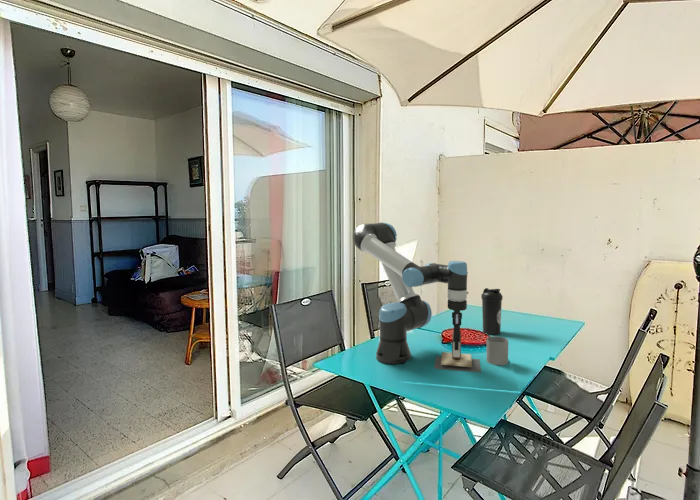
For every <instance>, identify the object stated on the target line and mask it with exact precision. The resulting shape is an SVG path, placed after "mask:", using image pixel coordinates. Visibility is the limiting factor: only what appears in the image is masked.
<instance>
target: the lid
mask: <svg viewBox="0 0 700 500" xmlns="http://www.w3.org/2000/svg"><path fill="white" fill-rule="evenodd" d="M451 336H452V337H451V345H452V346H451V348H452V350H451V352H447V351H442V352H441V356H440V357H441V365H451V366H463V367H472V359H473V358H472V354H470V353H462V352H461V351H462V337H461V336H462V332H461V331H460V357H453V342H452V340H453V339H454V331H452V335H451Z"/></svg>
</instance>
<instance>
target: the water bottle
mask: <svg viewBox="0 0 700 500" xmlns="http://www.w3.org/2000/svg"><path fill="white" fill-rule="evenodd" d="M500 291H501V289H500V288H492V289H491V288H488V287H486V288H484V289H483V292H482V294H481V303H482V304H481V309H482V311H481V312H482V333H483V332H484V333H487V334H488V335H489V336H498V335H500V334H501V326H502V305H503V303H502V302H503V301H502V300H503V299H504V298H503V297H504V296H503V294H502V293H501V292H500ZM484 333H483V334H484ZM487 334H486V335H487Z"/></svg>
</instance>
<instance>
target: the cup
mask: <svg viewBox="0 0 700 500" xmlns="http://www.w3.org/2000/svg"><path fill="white" fill-rule="evenodd" d="M485 356H486V362H487V363H488V364H491V365H495V366H505V365H508V364H509V339H508V338H506V337H502V336H498V335H490V336H488V337H487V338H486V355H485Z"/></svg>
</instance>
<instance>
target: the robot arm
mask: <svg viewBox="0 0 700 500" xmlns="http://www.w3.org/2000/svg"><path fill="white" fill-rule="evenodd" d="M397 236H398V234H397V231H396V229H395V228H394V226H393V225H392V224H390V223H388V222H375V223H372V222H371V223H361V224H359V225H358V226H357V227H356V228H355V229H354V231H353V233H352V242H353V244H354V246H355V247H356V248H357V249H359V250H360V251H361V252H363V253H364V254H369V255H371V256H372V257H374V259H376V260H378V261H379V262H380V263H381V265H382V267H383V269H384V272H385V274H386V277H387V279H388V281H389V283H390V286H391V288H392V290H393V293H394V295H395V297H396V298H395V299H396V300H397V301H396V302H393V303H392V302H389V303H387V304H384V305H382V306H381V307H379V308H380V309H379V315H378V319H379V320H378V321H379V322H378V323H379V343H378V345H377V348H376V355H375V358H376V360H377V362H380V363H382V364H386V365H387V364H388V365H401V364H404V363H405V364H406V362H409V361H410V360H411V359H412V351H411V350H410V347H409V344H408V343H409V342H408V340H407V338H408V337H407V332H410V331H412V330H416V329H421V328H422V327H425V326H427V325H428V324H429V323H430V322H431V319H432V315H433V313H432V307H431V305H430V304H429V303H428V302H427V301H425V300H422V299H421V296H420V295H419V294H418V293H415V291H414V289H413V288H416V287H420V286H426V285H430V284H435V283H443V284H447V309H448V310H451V311H452V312H451V318H452V325H453V332H454V339H453V340H452V339H451V343H452V342H453V357H460V332H461V325H462V319H463V312H461V311H466V310H467V307H468V301H467V296H468V294H469V291H467V290H468V264H467V262H465V261H462V260H451V261H449V262H448V263H447V264H443V263H442V264H441V263H440V264H439V263H435V262H433V263H430V262H429V263H426V264H425V265H422V266H421V265H420V266H419V265H418V264H416V263H414V262H413V261H412V260H410V259H408V258H407V257H406V256H405V255H402V254H401V253H399V252H398V251H397V250H396V245H397V243H396V241H397V239H398V238H397ZM461 338H462V335H461Z"/></svg>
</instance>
